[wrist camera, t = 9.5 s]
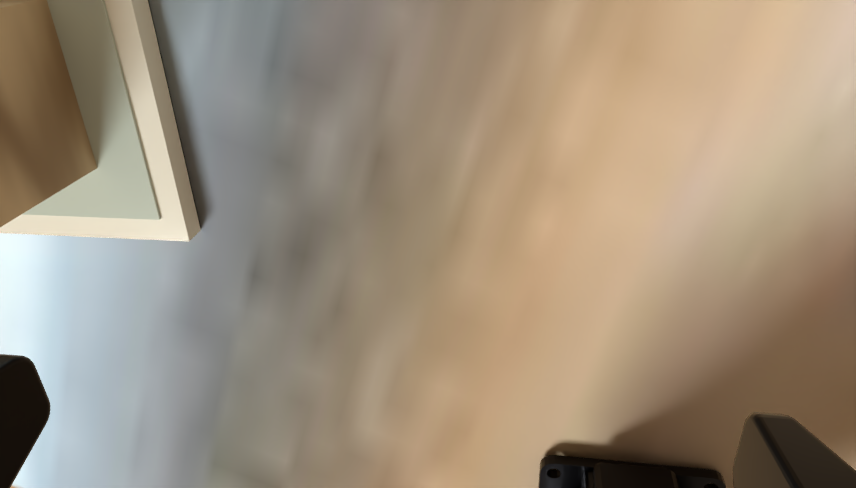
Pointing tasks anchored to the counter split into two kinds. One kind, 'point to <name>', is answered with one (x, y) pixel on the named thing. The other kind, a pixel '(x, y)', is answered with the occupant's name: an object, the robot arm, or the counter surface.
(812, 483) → the robot arm
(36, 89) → the cube
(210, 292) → the counter surface
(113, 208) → the tile
